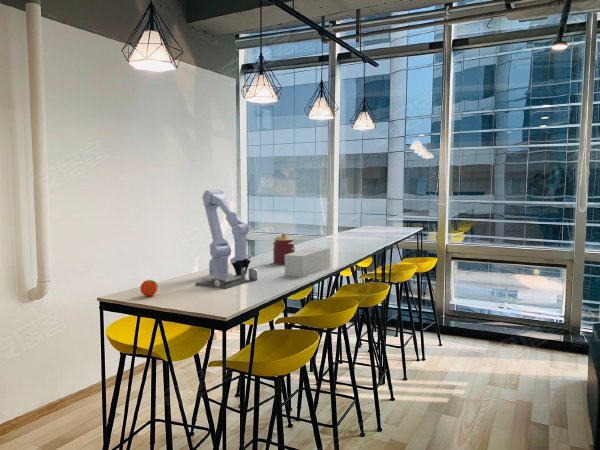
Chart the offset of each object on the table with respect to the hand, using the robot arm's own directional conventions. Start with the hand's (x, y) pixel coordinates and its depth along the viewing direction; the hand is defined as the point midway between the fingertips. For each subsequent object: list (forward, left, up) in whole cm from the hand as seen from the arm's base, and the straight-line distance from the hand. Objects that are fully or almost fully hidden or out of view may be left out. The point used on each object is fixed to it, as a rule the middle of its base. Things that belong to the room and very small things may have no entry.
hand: (241, 275), depth 235 cm
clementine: (-14, -46, -2) cm, 48 cm away
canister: (-5, +49, -2) cm, 49 cm away
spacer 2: (+7, 0, -2) cm, 7 cm away
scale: (-2, -13, -2) cm, 13 cm away
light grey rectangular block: (+20, +33, -2) cm, 39 cm away
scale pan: (-2, -13, 0) cm, 13 cm away
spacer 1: (0, 0, -1) cm, 1 cm away
